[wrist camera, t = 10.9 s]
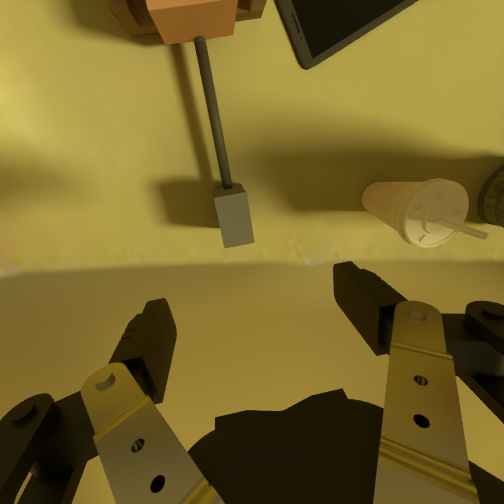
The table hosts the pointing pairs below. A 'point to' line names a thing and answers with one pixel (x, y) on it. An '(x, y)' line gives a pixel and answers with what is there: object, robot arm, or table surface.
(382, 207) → the smoothie
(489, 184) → the thermos
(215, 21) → the block
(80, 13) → the table surface
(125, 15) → the wooden crate
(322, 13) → the cell phone
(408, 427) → the robot arm
